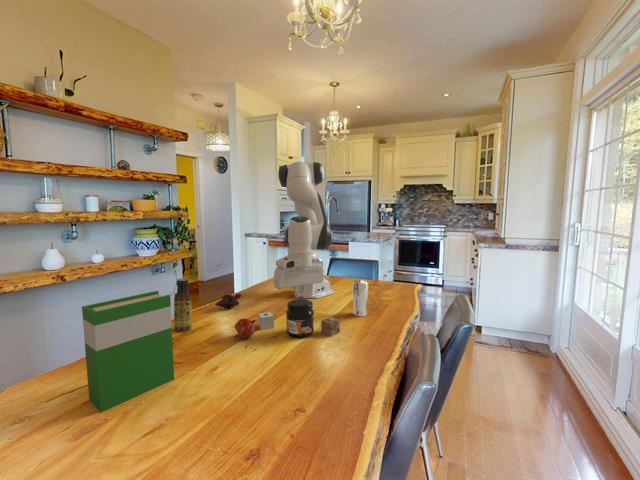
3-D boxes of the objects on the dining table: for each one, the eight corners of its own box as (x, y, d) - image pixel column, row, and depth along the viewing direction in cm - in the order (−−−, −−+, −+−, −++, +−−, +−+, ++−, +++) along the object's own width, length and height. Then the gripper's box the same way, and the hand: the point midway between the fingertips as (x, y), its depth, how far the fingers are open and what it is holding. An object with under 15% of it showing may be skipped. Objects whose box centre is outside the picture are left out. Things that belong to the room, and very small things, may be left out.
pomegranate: (236, 348, 111) (258, 332, 110) (223, 331, 111) (246, 315, 110) (242, 341, 118) (263, 326, 118) (231, 326, 118) (251, 310, 118)
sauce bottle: (173, 333, 117) (170, 281, 115) (175, 327, 123) (173, 278, 121) (191, 331, 119) (189, 280, 117) (193, 325, 125) (191, 277, 123)
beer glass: (367, 311, 143) (368, 279, 141) (368, 317, 136) (368, 283, 135) (351, 311, 144) (352, 279, 142) (352, 316, 137) (352, 283, 135)
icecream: (222, 301, 137) (246, 295, 150) (211, 294, 141) (236, 289, 154) (219, 315, 138) (243, 308, 151) (208, 308, 142) (233, 302, 155)
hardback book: (160, 370, 91) (156, 290, 89) (174, 379, 87) (170, 295, 84) (89, 400, 77) (81, 306, 75) (100, 412, 73) (93, 313, 70)
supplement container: (288, 340, 112) (288, 308, 111) (284, 329, 123) (284, 299, 121) (317, 337, 115) (317, 305, 114) (310, 326, 125) (310, 297, 124)
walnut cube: (329, 329, 123) (329, 316, 123) (339, 332, 120) (339, 319, 119) (321, 333, 119) (321, 319, 119) (331, 336, 116) (331, 323, 116)
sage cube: (270, 323, 128) (270, 311, 128) (274, 328, 124) (273, 315, 123) (258, 325, 126) (258, 313, 126) (261, 330, 122) (261, 317, 121)
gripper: (318, 257, 124) (318, 291, 126) (271, 261, 113) (271, 299, 114) (327, 259, 119) (327, 294, 120) (279, 264, 107) (279, 303, 109)
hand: (299, 296), depth 117 cm, fingers closed
